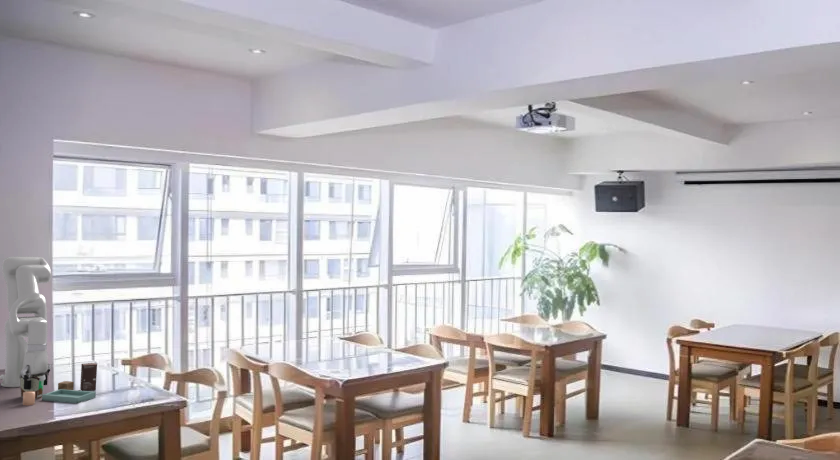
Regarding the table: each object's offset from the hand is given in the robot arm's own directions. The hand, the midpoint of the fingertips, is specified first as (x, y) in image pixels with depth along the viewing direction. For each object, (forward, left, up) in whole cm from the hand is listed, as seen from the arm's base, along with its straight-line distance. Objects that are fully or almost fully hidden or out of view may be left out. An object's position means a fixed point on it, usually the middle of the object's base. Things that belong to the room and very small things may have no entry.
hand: (35, 387), depth 300 cm
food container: (0, 0, -5) cm, 5 cm away
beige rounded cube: (+7, -12, -4) cm, 14 cm away
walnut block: (+6, +12, -4) cm, 14 cm away
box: (+12, +18, -5) cm, 23 cm away
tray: (+16, +1, -4) cm, 16 cm away
